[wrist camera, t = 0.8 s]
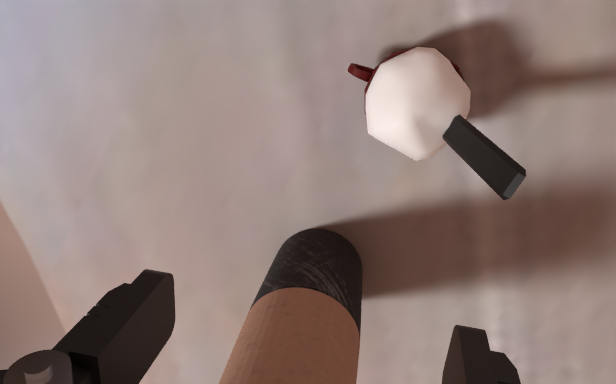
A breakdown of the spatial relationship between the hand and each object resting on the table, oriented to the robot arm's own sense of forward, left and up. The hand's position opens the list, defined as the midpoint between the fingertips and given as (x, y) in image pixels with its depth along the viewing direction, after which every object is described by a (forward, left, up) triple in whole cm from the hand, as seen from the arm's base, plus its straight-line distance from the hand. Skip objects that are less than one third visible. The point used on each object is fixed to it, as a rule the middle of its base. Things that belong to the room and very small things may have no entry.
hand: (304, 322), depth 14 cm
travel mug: (+5, +12, -23) cm, 26 cm away
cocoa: (-4, -1, -23) cm, 23 cm away
